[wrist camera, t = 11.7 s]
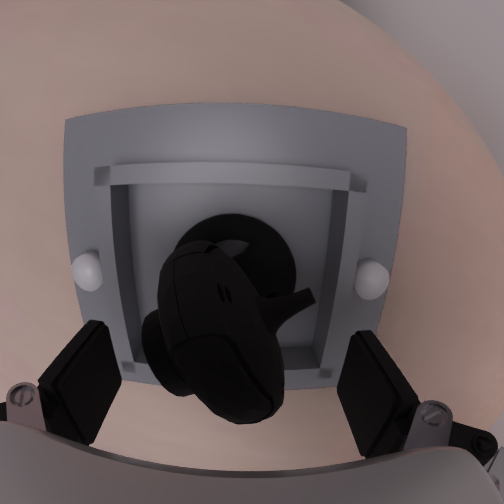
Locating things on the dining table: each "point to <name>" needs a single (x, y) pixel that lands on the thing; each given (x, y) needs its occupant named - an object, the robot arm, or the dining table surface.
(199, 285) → the webcam
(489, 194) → the dining table surface
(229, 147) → the housing
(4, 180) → the dining table surface
